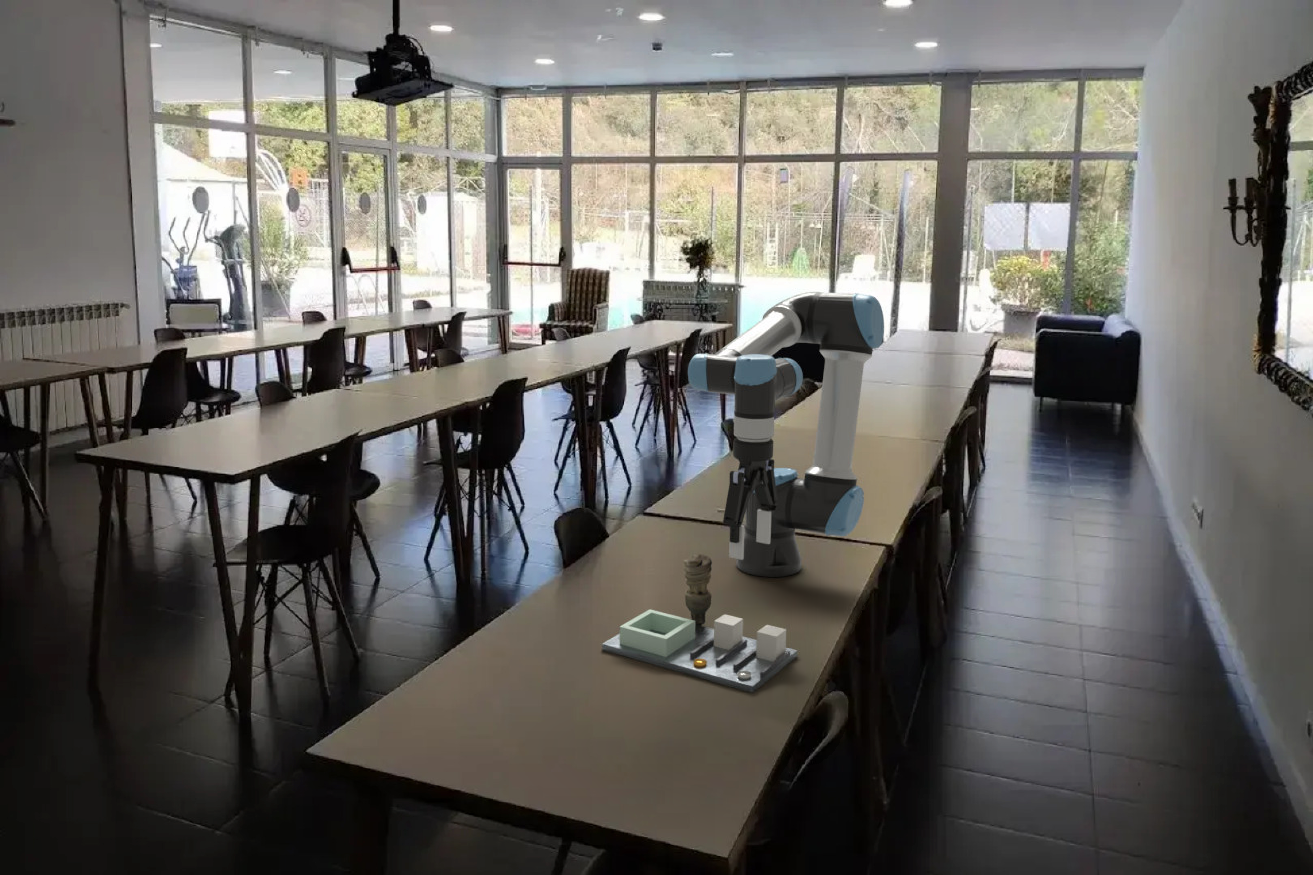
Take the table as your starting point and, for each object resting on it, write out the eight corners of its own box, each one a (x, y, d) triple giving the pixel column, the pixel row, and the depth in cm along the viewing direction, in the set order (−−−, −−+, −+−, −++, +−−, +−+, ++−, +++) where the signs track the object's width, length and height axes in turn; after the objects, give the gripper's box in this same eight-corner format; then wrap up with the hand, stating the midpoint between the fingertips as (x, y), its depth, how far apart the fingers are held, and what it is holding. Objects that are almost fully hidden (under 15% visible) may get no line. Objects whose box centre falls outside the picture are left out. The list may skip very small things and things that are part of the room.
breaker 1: (723, 638, 196) (724, 614, 195) (742, 643, 194) (743, 618, 193) (713, 645, 192) (714, 621, 191) (732, 650, 190) (732, 625, 189)
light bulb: (687, 632, 202) (688, 560, 198) (679, 621, 207) (680, 551, 204) (714, 629, 203) (716, 557, 200) (705, 619, 208) (707, 549, 205)
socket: (649, 626, 201) (649, 609, 201) (694, 637, 196) (695, 620, 195) (619, 643, 193) (619, 626, 192) (666, 656, 187) (666, 639, 187)
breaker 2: (766, 649, 191) (766, 624, 190) (785, 654, 189) (786, 629, 188) (756, 657, 188) (756, 631, 187) (775, 662, 186) (776, 636, 185)
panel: (653, 619, 208) (653, 609, 208) (796, 656, 191) (797, 645, 191) (602, 649, 193) (602, 638, 193) (752, 692, 176) (752, 681, 176)
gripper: (763, 425, 203) (760, 531, 207) (705, 446, 184) (703, 562, 189) (797, 429, 199) (793, 538, 204) (742, 451, 180) (738, 570, 185)
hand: (750, 550), depth 196 cm, fingers open, 10 cm apart
